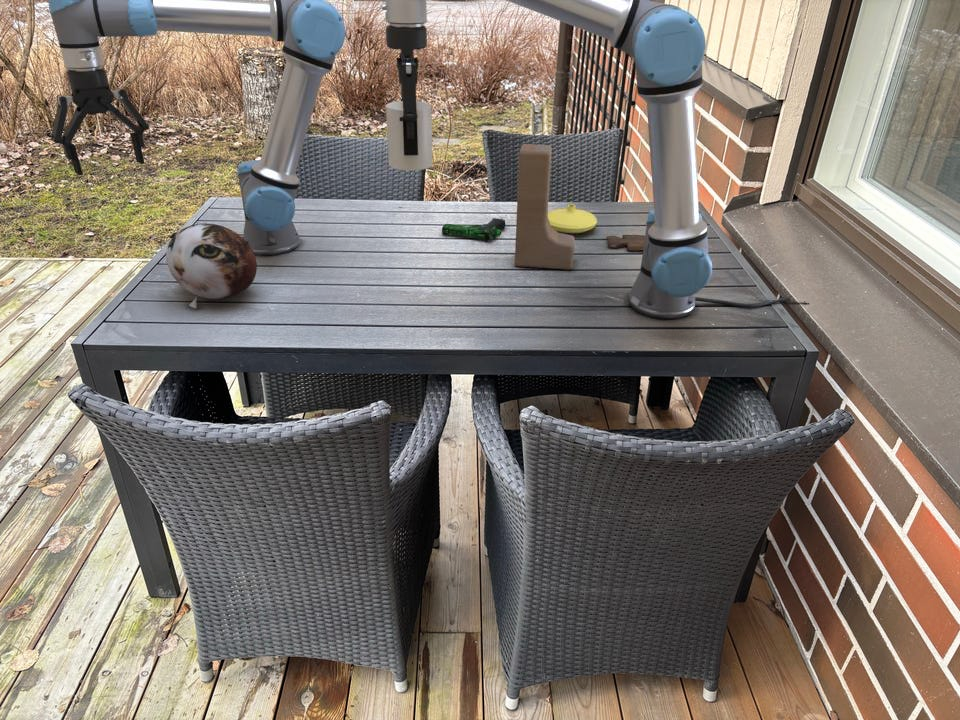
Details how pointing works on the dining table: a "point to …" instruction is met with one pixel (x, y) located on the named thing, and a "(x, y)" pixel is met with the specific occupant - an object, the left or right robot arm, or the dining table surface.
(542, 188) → the decorative block
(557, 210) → the yellow pot lid
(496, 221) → the handgun
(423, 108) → the canister
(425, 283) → the dining table surface
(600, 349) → the dining table surface
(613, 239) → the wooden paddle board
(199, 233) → the cat face balloon
